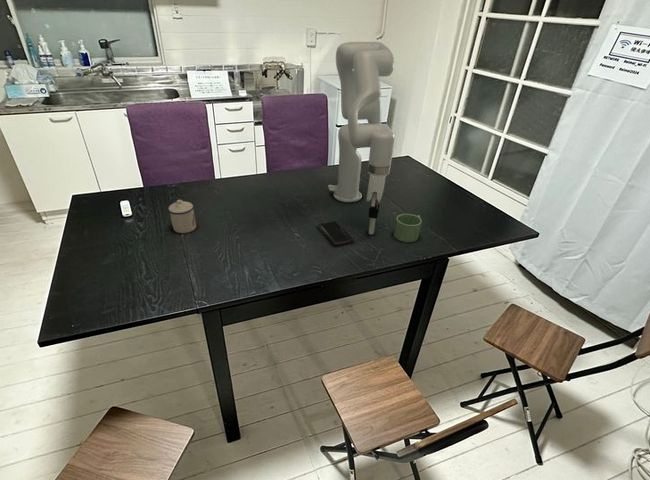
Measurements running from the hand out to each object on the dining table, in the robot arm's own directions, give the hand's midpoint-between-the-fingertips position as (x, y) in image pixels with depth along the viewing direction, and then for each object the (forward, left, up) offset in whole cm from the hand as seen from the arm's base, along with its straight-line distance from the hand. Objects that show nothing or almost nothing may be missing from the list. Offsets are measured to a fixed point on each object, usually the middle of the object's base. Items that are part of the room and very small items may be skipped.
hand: (373, 215), depth 141 cm
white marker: (0, 0, -8) cm, 8 cm away
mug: (+14, +3, -8) cm, 16 cm away
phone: (-13, -5, -8) cm, 16 cm away
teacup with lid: (-71, -16, -8) cm, 73 cm away
